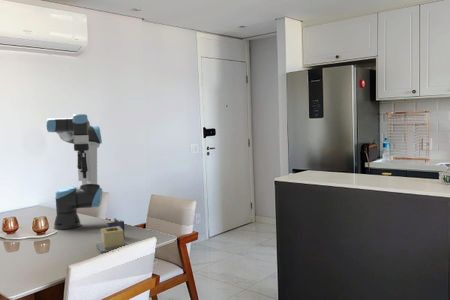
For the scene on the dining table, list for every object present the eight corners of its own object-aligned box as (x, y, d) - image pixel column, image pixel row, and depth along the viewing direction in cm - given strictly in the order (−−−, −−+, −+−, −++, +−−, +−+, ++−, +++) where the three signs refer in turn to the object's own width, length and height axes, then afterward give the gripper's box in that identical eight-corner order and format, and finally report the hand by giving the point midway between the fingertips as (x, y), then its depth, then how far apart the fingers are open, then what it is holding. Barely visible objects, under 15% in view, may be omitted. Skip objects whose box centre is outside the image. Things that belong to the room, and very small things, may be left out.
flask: (107, 239, 224) (106, 219, 223) (107, 237, 227) (106, 218, 226) (124, 237, 227) (124, 218, 226) (124, 236, 230) (123, 217, 229)
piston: (96, 245, 214) (95, 233, 213) (123, 241, 220) (122, 230, 219) (101, 253, 201) (100, 241, 201) (129, 248, 207) (129, 236, 207)
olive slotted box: (101, 243, 213) (100, 228, 212) (119, 241, 217) (119, 226, 216) (104, 249, 204) (104, 233, 204) (124, 246, 208) (123, 230, 208)
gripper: (71, 142, 232) (72, 180, 234) (76, 144, 210) (78, 186, 211) (85, 141, 235) (86, 178, 237) (92, 144, 213) (93, 185, 215)
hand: (82, 182), depth 224 cm, fingers open, 13 cm apart
